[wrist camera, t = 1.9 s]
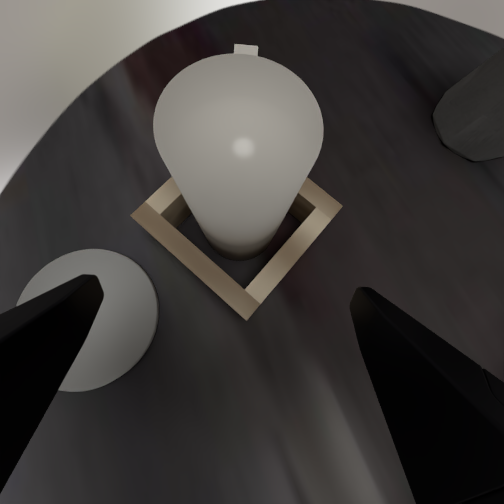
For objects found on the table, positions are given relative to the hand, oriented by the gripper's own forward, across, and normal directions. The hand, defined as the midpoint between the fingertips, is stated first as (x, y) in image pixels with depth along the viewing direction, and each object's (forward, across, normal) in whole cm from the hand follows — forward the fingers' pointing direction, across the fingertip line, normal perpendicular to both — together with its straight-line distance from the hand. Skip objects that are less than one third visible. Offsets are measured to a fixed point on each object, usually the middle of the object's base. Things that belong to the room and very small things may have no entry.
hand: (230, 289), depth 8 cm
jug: (+14, 0, +3) cm, 15 cm away
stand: (+13, 0, +4) cm, 14 cm away
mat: (+7, +12, +10) cm, 17 cm away
